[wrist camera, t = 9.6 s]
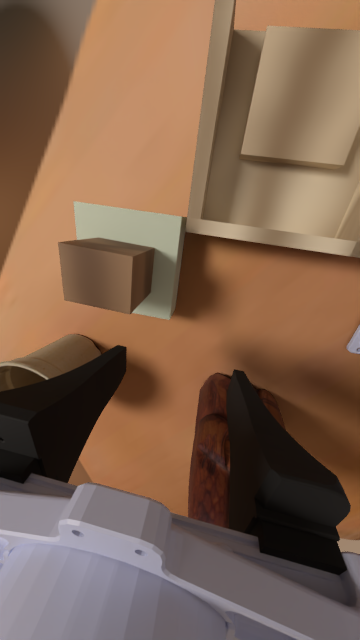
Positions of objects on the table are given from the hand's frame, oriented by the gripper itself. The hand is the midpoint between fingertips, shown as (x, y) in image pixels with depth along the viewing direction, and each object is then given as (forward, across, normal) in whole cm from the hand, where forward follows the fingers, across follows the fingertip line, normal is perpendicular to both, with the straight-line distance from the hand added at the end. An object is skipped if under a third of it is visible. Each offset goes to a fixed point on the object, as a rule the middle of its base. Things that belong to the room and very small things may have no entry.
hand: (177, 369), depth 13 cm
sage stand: (+10, +6, -4) cm, 13 cm away
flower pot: (+10, +14, +9) cm, 20 cm away
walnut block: (+7, +6, -4) cm, 10 cm away
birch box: (+10, -5, -14) cm, 18 cm away
